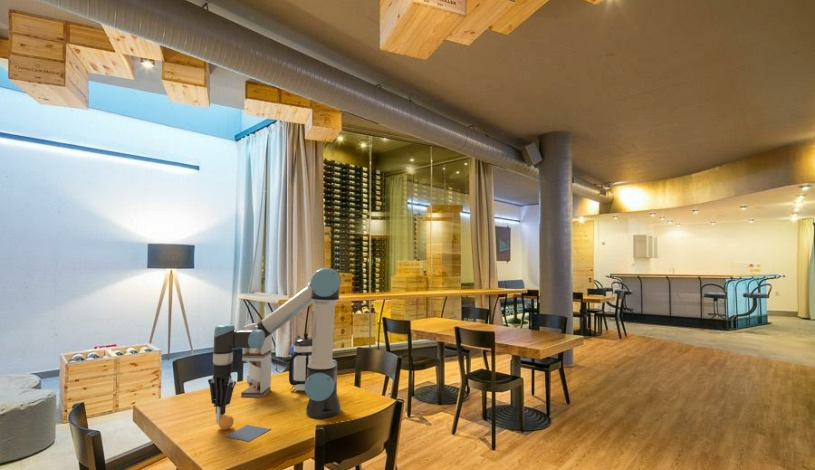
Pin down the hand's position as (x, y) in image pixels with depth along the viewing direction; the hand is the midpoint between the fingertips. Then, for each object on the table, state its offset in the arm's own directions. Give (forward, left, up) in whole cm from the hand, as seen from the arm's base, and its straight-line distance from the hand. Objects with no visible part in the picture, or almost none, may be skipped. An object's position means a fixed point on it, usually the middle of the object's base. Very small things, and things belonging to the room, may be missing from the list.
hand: (219, 422), depth 163 cm
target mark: (-15, 0, -2) cm, 15 cm away
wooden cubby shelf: (+18, -41, -3) cm, 45 cm away
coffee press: (-3, -53, -3) cm, 53 cm away
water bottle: (+14, -70, -3) cm, 72 cm away
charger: (+34, -58, -3) cm, 67 cm away
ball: (-3, 0, 0) cm, 3 cm away
